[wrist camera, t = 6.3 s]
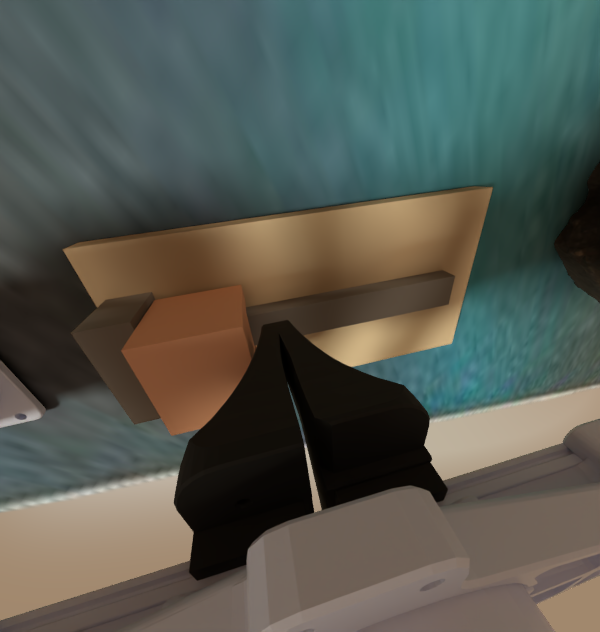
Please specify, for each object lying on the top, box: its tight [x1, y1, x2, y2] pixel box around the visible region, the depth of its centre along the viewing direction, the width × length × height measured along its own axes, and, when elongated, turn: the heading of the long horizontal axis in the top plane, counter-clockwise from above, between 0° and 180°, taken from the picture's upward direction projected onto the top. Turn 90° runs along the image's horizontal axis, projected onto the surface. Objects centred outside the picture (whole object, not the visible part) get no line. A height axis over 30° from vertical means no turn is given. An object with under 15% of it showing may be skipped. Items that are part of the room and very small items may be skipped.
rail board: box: [63, 186, 493, 424], centre depth 13 cm, size 20×10×4 cm, turn 95°
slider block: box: [121, 285, 256, 436], centre depth 11 cm, size 4×5×4 cm
